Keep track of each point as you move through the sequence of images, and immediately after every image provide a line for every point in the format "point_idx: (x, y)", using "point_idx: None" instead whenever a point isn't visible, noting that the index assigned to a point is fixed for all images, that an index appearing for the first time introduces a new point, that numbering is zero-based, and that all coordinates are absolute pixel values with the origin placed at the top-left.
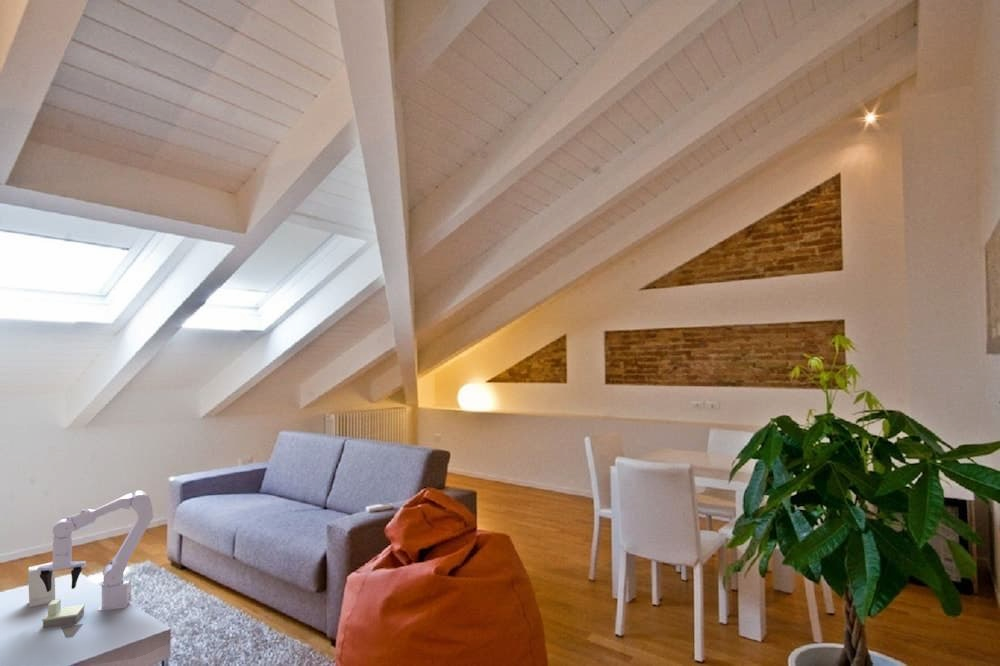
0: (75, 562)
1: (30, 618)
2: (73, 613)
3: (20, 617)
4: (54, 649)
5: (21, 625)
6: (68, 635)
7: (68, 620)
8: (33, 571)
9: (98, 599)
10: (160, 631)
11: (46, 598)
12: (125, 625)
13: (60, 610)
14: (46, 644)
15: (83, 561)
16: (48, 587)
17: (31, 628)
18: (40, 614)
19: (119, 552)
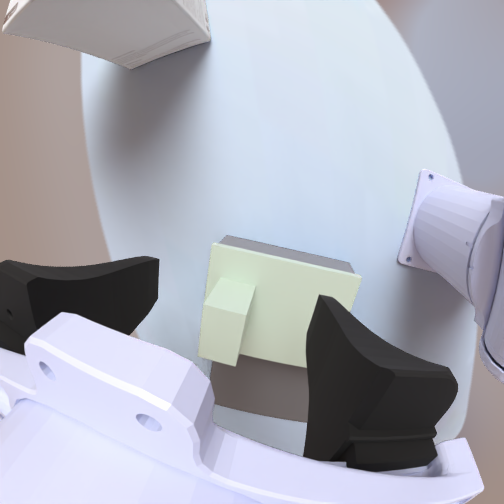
0: (373, 500)
1: (146, 177)
2: None
3: (114, 147)
4: (270, 442)
5: (133, 235)
6: (298, 412)
7: None
8: (19, 18)
9: (396, 108)
10: None
11: (169, 41)
12: None
13: (256, 293)
14: (248, 417)
15: (461, 499)
16: (139, 321)
17: (173, 287)
18: (173, 150)
19: None
